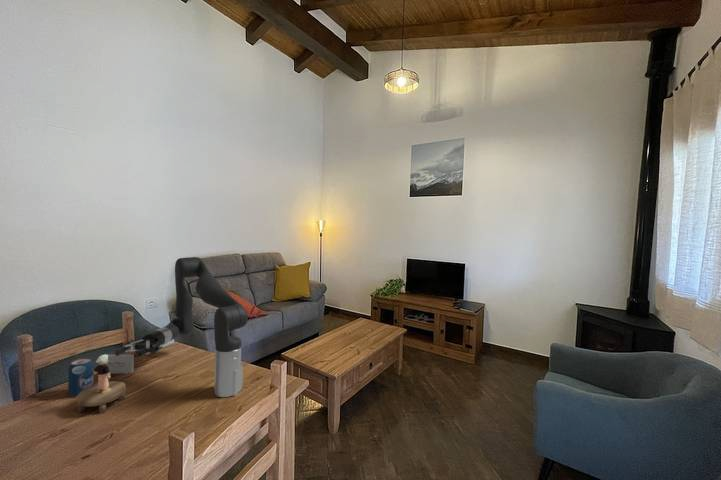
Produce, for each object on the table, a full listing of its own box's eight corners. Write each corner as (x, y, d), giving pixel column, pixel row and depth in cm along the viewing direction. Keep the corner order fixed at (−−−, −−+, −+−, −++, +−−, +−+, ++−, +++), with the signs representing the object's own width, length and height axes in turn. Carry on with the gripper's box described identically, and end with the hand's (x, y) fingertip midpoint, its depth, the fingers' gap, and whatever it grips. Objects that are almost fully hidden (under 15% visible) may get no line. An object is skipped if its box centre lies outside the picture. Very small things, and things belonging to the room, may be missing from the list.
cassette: (100, 373, 128) (100, 356, 127) (104, 371, 129) (104, 354, 129) (131, 373, 129) (131, 355, 129) (134, 371, 131) (134, 354, 130)
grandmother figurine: (117, 388, 108) (117, 353, 107) (107, 394, 104) (107, 358, 104) (98, 386, 109) (98, 351, 108) (87, 392, 105) (87, 356, 104)
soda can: (84, 397, 110) (84, 365, 110) (62, 398, 109) (63, 365, 109) (98, 387, 117) (98, 356, 117) (77, 388, 116) (78, 357, 116)
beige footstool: (134, 395, 113) (134, 382, 112) (103, 417, 100) (103, 402, 99) (101, 393, 113) (101, 380, 113) (65, 414, 100) (65, 399, 100)
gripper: (142, 329, 133) (109, 343, 116) (173, 331, 132) (145, 345, 116) (141, 346, 133) (109, 362, 117) (173, 348, 132) (144, 364, 116)
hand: (127, 353), depth 116 cm, fingers open, 8 cm apart
